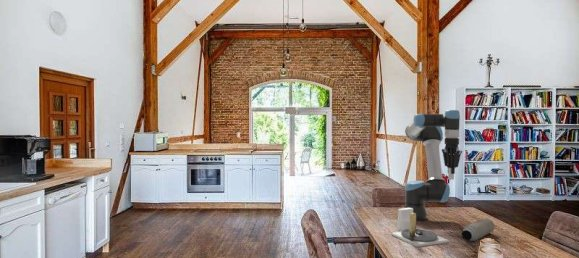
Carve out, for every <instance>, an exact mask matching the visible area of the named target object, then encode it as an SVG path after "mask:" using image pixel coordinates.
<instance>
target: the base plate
mask: <svg viewBox="0 0 579 258" xmlns="http://www.w3.org/2000/svg"><path fill="white" fill-rule="evenodd" d="M401 232H402V231H396V232H391V236H392V237H395V238H397V239H400V240H401V241H404V242H406V243H408V244H410V245H412V246H413V247H414V246H415V247H425V246H431V245H439V244H447V243H449V239H446V238H444V237H442V236H439V235H438V239H437V240H435V241H415V240H413V237H412V236H411V237H410V239H407V238H405V237H403V236H402V235H401Z"/></svg>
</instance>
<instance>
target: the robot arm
mask: <svg viewBox="0 0 579 258" xmlns="http://www.w3.org/2000/svg"><path fill="white" fill-rule="evenodd" d="M460 118H461V115H460V110H457V109H449V110H447V109H446V110H445V111H444V113H416V114H414V116H413V122H412V123H410V124H408V125H407V126H406V127H405V131H404V133H405V136H406V137H407V138H408V139H410V140H411V141H415V142H422V145H423V146H424V147H425V154H426V155H425V156H426V157H425V158H426V166H427V167H426V168H427V175H428V176H427V178H428V179H427V180H426V182H425V181H424V180H411V181H407V182H406V183H405V189H404V190H405V205H404V207H403V208H413V213H416V221H425V220H427V219H428V214H427V211H426V208H425V202H426V203H428V202H429V203H446V202H447V201H448V200H449V197H450V193H451V190H450V188H451V187H450V185H449V183H446V180H445V179H444V178H443V172H442V164H441V163H442V162H441V154H440V146H439V145H440V144H441V142H442V141H443V139H444V145H445V146H444V148H442V149H441V152H442V158H443V163H444V166H445V167H447V175H448V176H447V179H448V180H449V181H452V180H455V173H456V168H458V167H459V164H460V160H461V155H462V154H463V150H460V149H459V145H460V120H461V119H460ZM442 128H444V133H443V129H442ZM443 136H444V137H445V138H444V137H443Z"/></svg>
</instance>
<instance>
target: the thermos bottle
mask: <svg viewBox="0 0 579 258" xmlns="http://www.w3.org/2000/svg"><path fill="white" fill-rule="evenodd" d="M494 230H495V223H494V222H493V221H492V220H491V219H489V218H486V217H485V218H481V219H480V220H477V221H474V222H473V223H470V224H467V225H465V226H464V227H463V228H462V232H461V237H462V239H463V240H465V241H470V242H474V241H477V240H478V239H481V238H483V237H484V236H486V235H489V234H490V233H492V232H493V231H494Z"/></svg>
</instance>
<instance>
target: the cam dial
mask: <svg viewBox="0 0 579 258" xmlns="http://www.w3.org/2000/svg"><path fill="white" fill-rule="evenodd" d="M416 226H417V220H416V213H410V229H406V230H403V231H400V232H401V235H402V236H403V237H405V238H407V239H410V237H411V236H412V237H413V240H415V241H435V240H437V239H438V236H439V235H438V234H437V233H435V232H434V231H430V230H425V229H419V228H417V227H416Z"/></svg>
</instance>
